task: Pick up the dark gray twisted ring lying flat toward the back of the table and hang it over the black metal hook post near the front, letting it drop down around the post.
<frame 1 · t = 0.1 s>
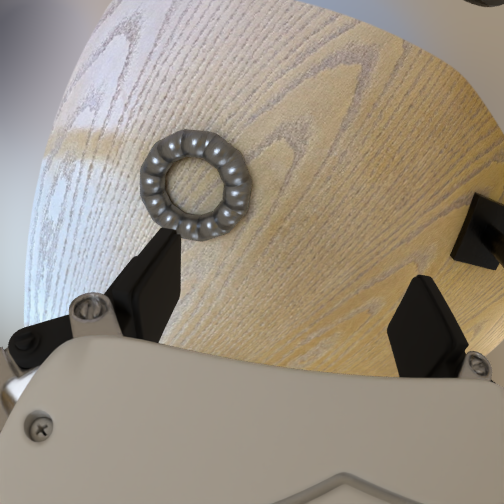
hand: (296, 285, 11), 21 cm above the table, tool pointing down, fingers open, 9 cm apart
dark gray twisted ring: (192, 187, 30), point 1 cm above the table
hook stand: (485, 232, 30), on the table
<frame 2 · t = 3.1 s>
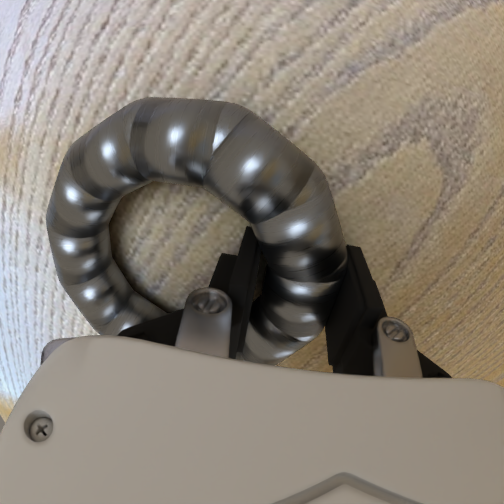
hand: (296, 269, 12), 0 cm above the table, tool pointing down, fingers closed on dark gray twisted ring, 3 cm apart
dark gray twisted ring: (178, 264, 11), point 1 cm above the table, touching gripper
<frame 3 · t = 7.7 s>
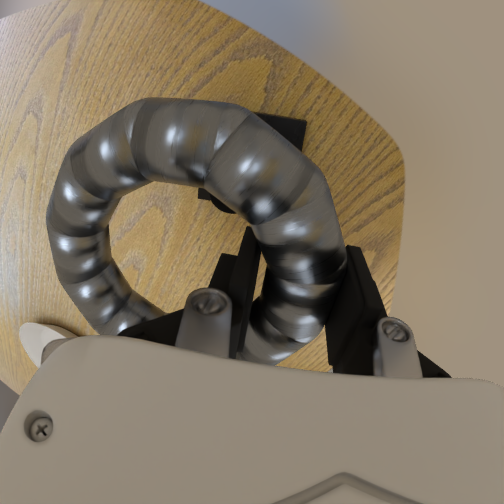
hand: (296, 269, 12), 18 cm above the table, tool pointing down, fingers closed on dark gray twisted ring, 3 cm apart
dark gray twisted ring: (178, 264, 11), point 19 cm above the table, touching gripper
hook stand: (250, 158, 27), on the table
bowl: (74, 356, 50), on the table
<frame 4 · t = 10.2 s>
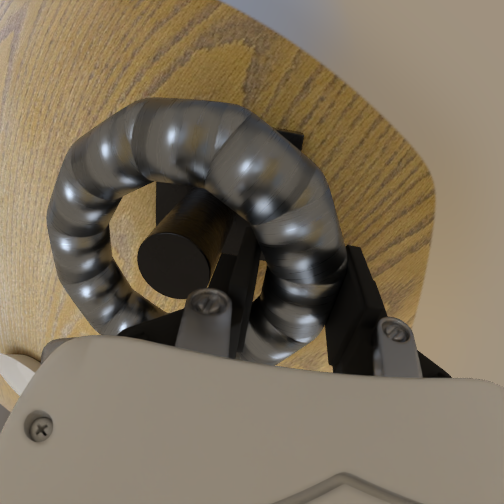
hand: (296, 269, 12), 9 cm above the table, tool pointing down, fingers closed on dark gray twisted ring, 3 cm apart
dark gray twisted ring: (178, 264, 11), point 10 cm above the table, touching gripper
hook stand: (224, 186, 20), on the table
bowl: (51, 386, 42), on the table
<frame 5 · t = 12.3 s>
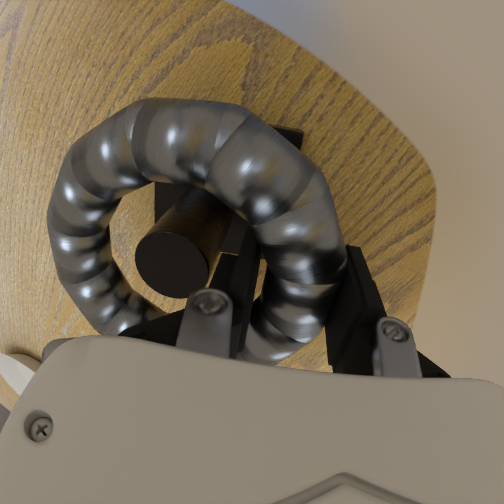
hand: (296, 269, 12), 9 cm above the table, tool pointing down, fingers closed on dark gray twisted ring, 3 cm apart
dark gray twisted ring: (178, 264, 11), point 10 cm above the table, touching gripper
hook stand: (223, 184, 20), on the table
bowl: (50, 385, 42), on the table
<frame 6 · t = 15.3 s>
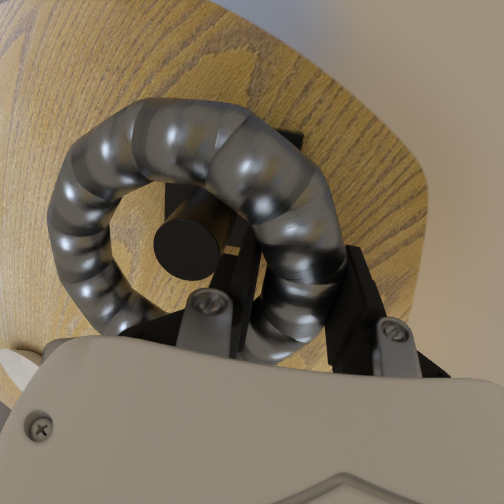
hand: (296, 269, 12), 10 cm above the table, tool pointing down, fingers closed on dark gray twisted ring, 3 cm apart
dark gray twisted ring: (178, 264, 11), point 11 cm above the table, touching gripper
hook stand: (229, 182, 21), on the table
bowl: (55, 382, 43), on the table
when the fingers open (11 cm above the table, at t = 17.9 s): dark gray twisted ring drops 10 cm, resting on hook stand.
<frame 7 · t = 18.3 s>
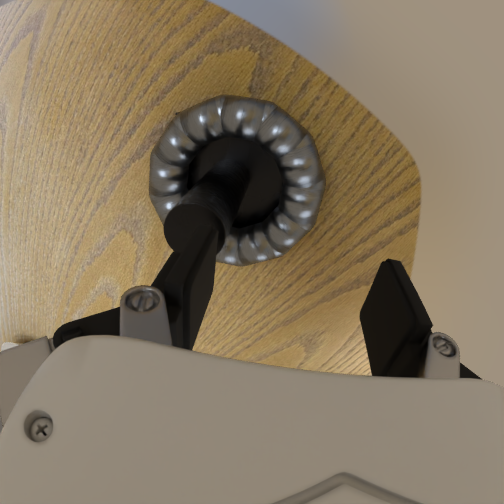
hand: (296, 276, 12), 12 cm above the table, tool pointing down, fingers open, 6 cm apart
dark gray twisted ring: (233, 185, 20), point 3 cm above the table, touching hook stand
hook stand: (232, 174, 22), on the table
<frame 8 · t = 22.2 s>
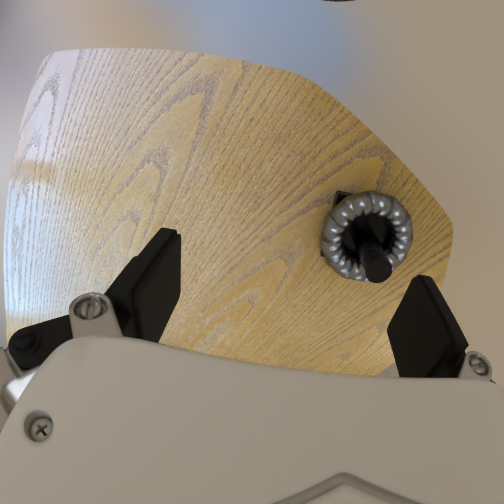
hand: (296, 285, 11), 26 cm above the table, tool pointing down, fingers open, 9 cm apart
dark gray twisted ring: (368, 238, 35), point 3 cm above the table, touching hook stand
hook stand: (360, 229, 38), on the table
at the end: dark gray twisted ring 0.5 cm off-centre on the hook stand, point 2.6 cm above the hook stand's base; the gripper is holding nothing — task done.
